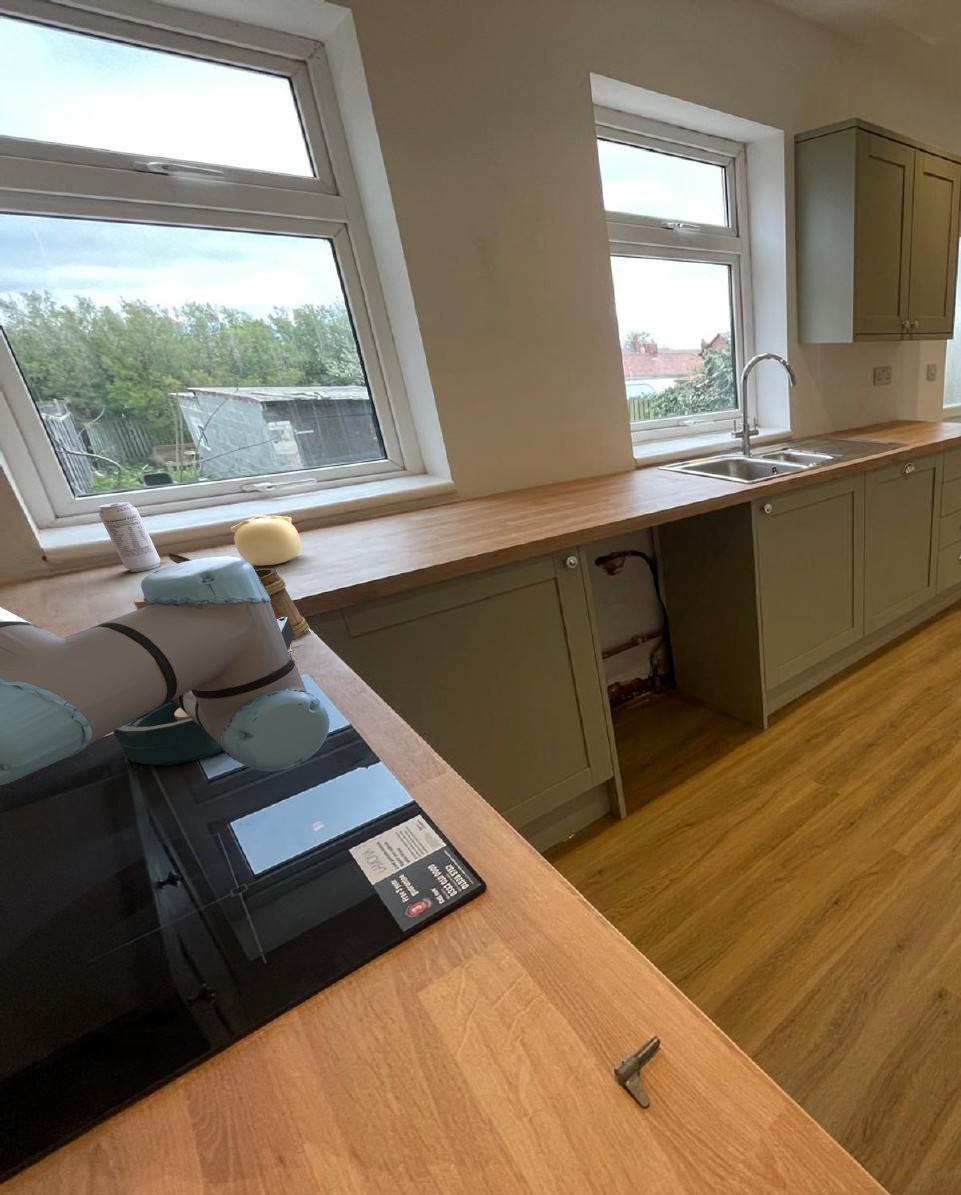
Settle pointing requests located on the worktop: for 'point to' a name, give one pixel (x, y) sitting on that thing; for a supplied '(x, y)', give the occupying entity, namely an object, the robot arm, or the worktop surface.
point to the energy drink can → (129, 536)
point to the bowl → (165, 738)
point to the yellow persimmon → (267, 540)
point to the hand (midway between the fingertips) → (169, 643)
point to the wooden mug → (273, 597)
